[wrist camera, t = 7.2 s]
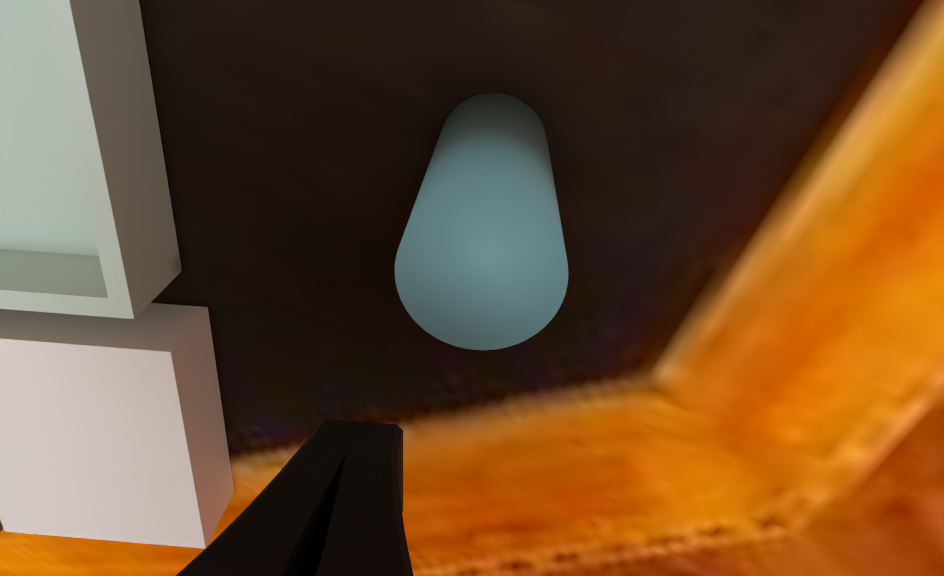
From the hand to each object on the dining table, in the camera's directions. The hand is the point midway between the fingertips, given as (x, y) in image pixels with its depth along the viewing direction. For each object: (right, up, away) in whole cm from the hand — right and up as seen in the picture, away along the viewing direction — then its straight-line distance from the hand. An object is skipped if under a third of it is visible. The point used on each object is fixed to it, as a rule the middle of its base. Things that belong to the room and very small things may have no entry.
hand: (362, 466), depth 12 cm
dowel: (+3, +7, +7) cm, 10 cm away
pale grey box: (-10, -1, +12) cm, 16 cm away
